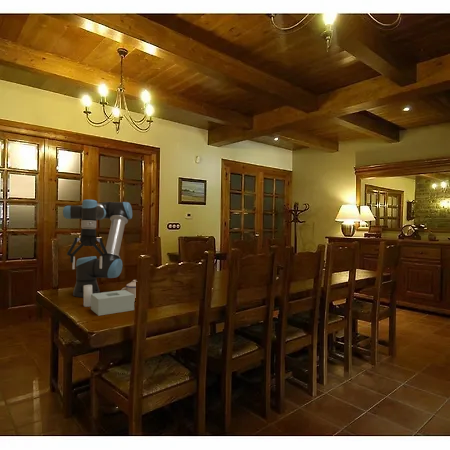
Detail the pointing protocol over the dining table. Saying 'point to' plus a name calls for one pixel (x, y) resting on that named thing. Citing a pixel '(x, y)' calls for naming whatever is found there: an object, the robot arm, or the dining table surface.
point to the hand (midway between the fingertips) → (87, 268)
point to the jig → (112, 302)
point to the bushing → (87, 295)
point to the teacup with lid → (131, 288)
